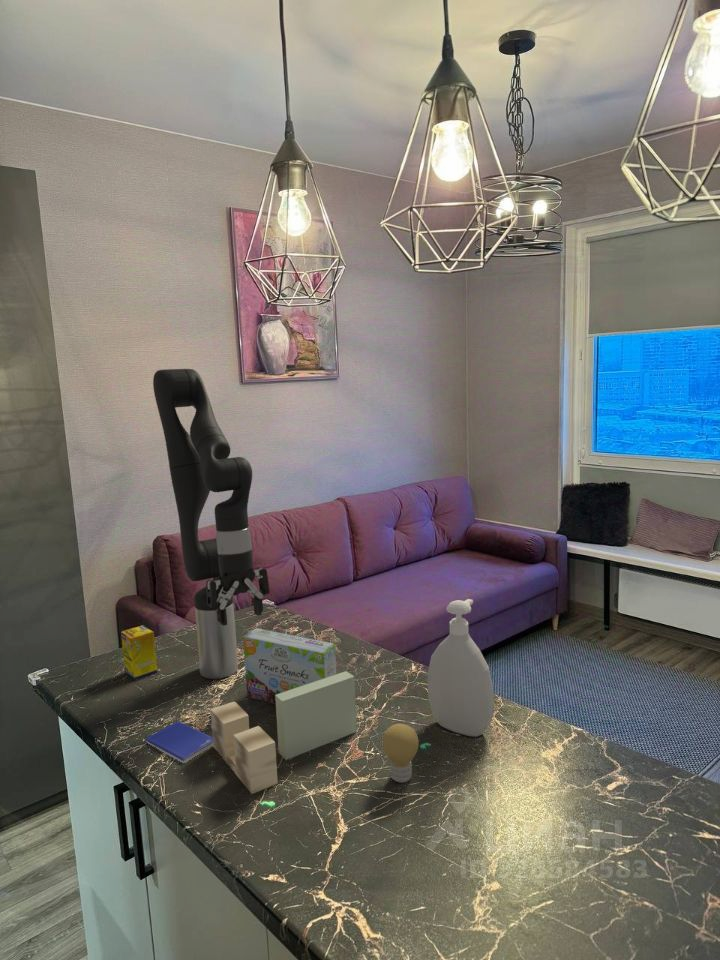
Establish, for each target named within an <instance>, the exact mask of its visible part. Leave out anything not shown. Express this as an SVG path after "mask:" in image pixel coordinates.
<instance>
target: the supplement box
mask: <svg viewBox="0 0 720 960" xmlns="http://www.w3.org/2000/svg"><path fill="white" fill-rule="evenodd" d="M120 633H121V634H120V635H121V644H122V653H123V663H124V664H123V665H124V673H125V674H127V675H128V676H129V677H131V679H133V680H134V681H138V680H141V679H143V678H146V677H149V676H152V675H155V674H157V673H158V666H157V665H158V664H157V655H156V643H155V634H154V633H155V632H154V631H152V630H151V629H149V628H148V627H147V626H145V625H143V624H142V625H140V626H137V627H132V628H129V629H126V630H122V631H121V632H120Z"/></svg>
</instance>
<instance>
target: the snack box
mask: <svg viewBox="0 0 720 960" xmlns="http://www.w3.org/2000/svg"><path fill="white" fill-rule="evenodd" d="M242 646H243V647H242V648H243V657H244V669H245V681H246V691H247V692H246V693H247V698H251V699H254V700H257V699H258V701H261V702H266V703H269V704H273V705H276V700H275V695H277V694H280V693H283V692H286V691H288V690H291V689H294V688H297V687H300V686H303V685H306V684H309V683H312V682H315V681H318V680H321V679H324V678H327V677H330V676H333V675H336V674H337V665H336V664H337V662H336V660H337V659H336V644H335V643H333V642H328V641H323V640H317V639H312V638H308V637H307V638H306V637H303V636H297V635H294V634H293V635H291V634H288V633H282V632H278V631H273V630H266V629H262V628H257V627H256V628H254V629H252V630H251V631H249V632H247V633H245V634H244V635H242Z"/></svg>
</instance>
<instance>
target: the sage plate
mask: <svg viewBox="0 0 720 960" xmlns="http://www.w3.org/2000/svg"><path fill="white" fill-rule="evenodd" d="M355 684H356V683H355V675H353V674H351V673H349V671H347V670H345V671H343V672H340V673H336V675H333V676H330V677H327V678H324V679H321V680H318V681H315V682H312V683H309V684H306V685H303V686H300V687H297V688H294V689H291V690H288V691H286V692H283V693H280V694H277V695H275V700H276V704H275V713H276V729H277V730H276V731H277V732H276V733H277V747H278V753H279V754H280V756H281V757H282V758H283V759H284V760H285V761H287V760H289V759H292V758H294V757H297V756H300V755H301V754H304V753H307V752H310V751H312V750H314V749H317V748H320V747H323V746H325V745H327V744H330V743H332V742H334V741H337V740H341V739H342V738H344V737H347V736H349V735H351V734H355V733H357V731H358V730H357V710H356V708H357V707H356V687H355V686H356V685H355Z"/></svg>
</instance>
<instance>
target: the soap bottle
mask: <svg viewBox="0 0 720 960" xmlns="http://www.w3.org/2000/svg"><path fill="white" fill-rule="evenodd" d="M473 604H474V599H470V598H467V599H465V600H462V599H461V600H459V599H457V600H453V601H451V602H450V603H448V605H447V606H446V609H445V610H446V612H447V613H449V614H452V615H455V617H454V618H451V620H450V621H449V634H448V636H446V637H445V639H443V640H442V641H441V642H440V643H439V645H438V646H437V648H436V649H435V651H433V653H432V655H431V656H430V661H429V666H428V669H427V670H428V671H427V696H428V701H429V707H430V710H431V712H432V715H433V716H434V719H435V721H436V722H437V723H438V724H439V726H441V727H443V728H444V729H446V730H448V731H451V732H454V733H456V734H458V735H459V734H460V735H462V736H468V737H479V736H481V735H483V734H484V733H485V732H486V731H487V729H488V727H490V725H491V722H492V720H493V719H492V718H493V715H494V708H495V707H494V704H495V697H494V689H493V681H492V676H491V672H490V667H489V665H488V663H487V660H486V659H485V658H484V655H483V653H482V651H481V650H480V648H479V647H478V645H477V644H476V642H475V641H474V640H473V639H472V637H471V636H470V633H469V621H468V620H467V619H466V618H464V617H462V616H463V615H467V614H470V613H471V611H472V607H471V606H472V605H473Z"/></svg>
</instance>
